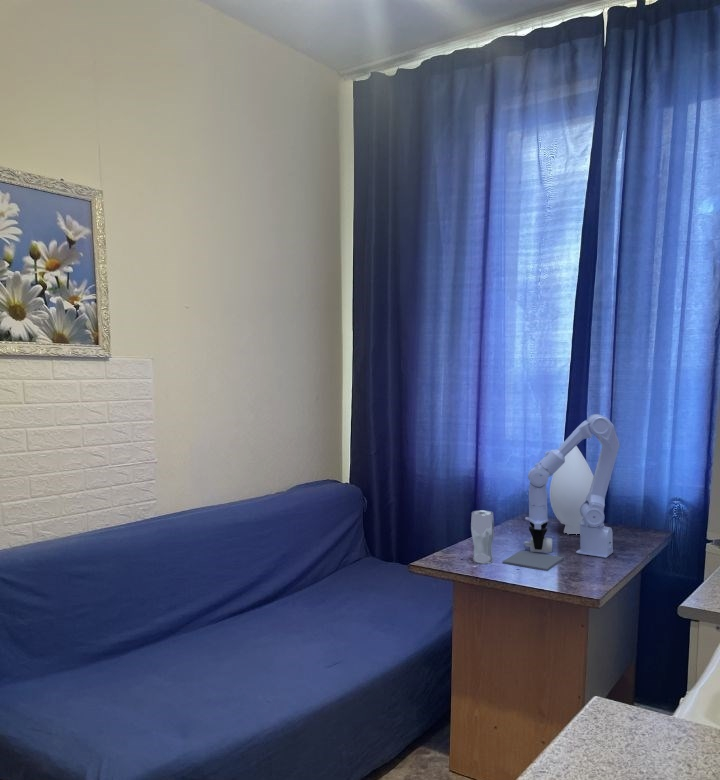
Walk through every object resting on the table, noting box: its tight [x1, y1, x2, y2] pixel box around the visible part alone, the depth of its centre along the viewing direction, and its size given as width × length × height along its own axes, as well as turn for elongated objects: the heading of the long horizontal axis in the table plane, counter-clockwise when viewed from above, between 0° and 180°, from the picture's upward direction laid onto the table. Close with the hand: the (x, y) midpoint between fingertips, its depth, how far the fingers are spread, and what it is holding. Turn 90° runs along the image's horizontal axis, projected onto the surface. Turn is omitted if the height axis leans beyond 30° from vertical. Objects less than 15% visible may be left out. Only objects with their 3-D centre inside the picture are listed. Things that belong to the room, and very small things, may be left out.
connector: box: [524, 536, 553, 554], centre depth 208 cm, size 8×4×4 cm, turn 73°
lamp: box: [549, 444, 594, 536], centre depth 230 cm, size 16×16×35 cm
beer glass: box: [470, 509, 495, 565], centre depth 198 cm, size 7×7×15 cm
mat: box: [501, 550, 565, 572], centre depth 197 cm, size 14×14×1 cm
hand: (538, 546), depth 208 cm, fingers open, 6 cm apart
